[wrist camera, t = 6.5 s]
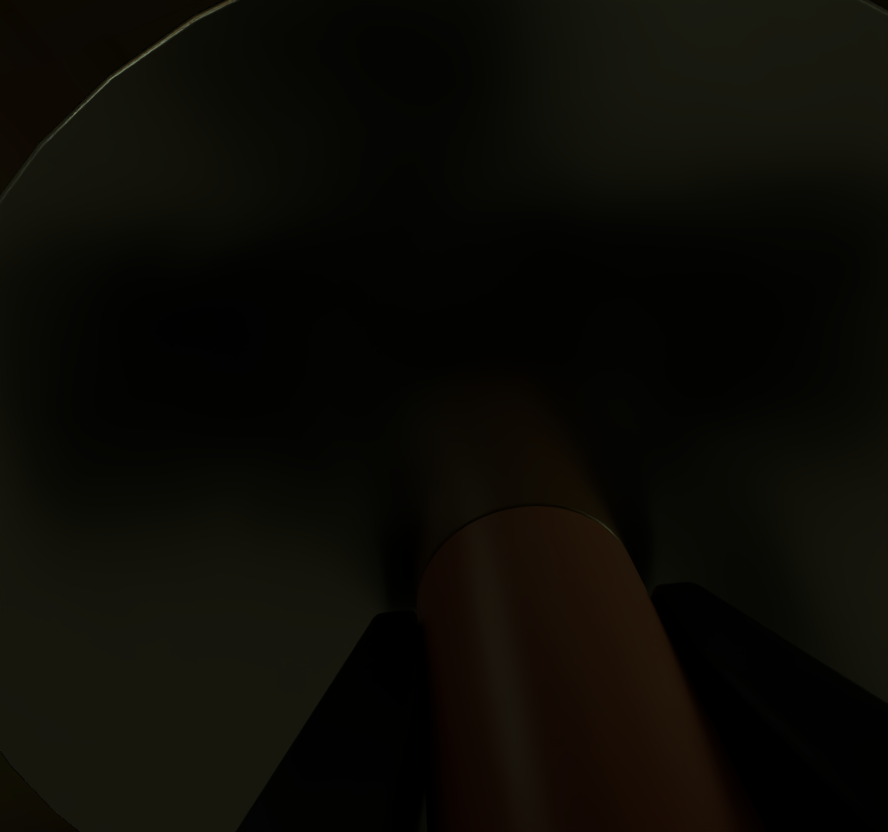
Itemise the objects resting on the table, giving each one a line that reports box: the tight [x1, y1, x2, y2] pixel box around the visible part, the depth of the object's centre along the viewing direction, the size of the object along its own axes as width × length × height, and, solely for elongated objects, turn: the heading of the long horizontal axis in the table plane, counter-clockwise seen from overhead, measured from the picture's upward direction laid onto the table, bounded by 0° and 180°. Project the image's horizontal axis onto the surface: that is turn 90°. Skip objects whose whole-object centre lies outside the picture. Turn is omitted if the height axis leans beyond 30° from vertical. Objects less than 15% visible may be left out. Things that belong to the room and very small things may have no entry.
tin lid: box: [0, 0, 888, 832], centre depth 7 cm, size 13×13×5 cm
